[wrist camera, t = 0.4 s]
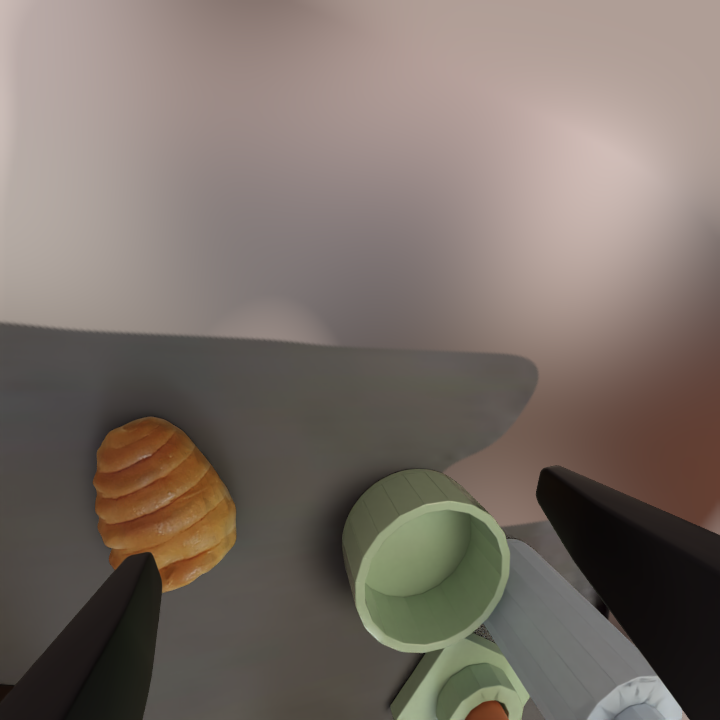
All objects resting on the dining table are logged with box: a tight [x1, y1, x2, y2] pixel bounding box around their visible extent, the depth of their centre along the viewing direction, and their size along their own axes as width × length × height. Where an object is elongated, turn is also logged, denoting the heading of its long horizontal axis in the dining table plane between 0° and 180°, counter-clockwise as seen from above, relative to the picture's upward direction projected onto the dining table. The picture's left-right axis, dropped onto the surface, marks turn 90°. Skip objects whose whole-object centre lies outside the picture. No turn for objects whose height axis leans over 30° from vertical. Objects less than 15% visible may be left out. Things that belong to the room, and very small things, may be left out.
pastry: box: [93, 417, 236, 593], centre depth 21 cm, size 9×7×4 cm
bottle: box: [483, 539, 682, 720], centre depth 22 cm, size 6×6×14 cm
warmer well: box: [342, 469, 510, 653], centre depth 25 cm, size 10×10×4 cm
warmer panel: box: [390, 633, 530, 720], centre depth 29 cm, size 8×10×3 cm
